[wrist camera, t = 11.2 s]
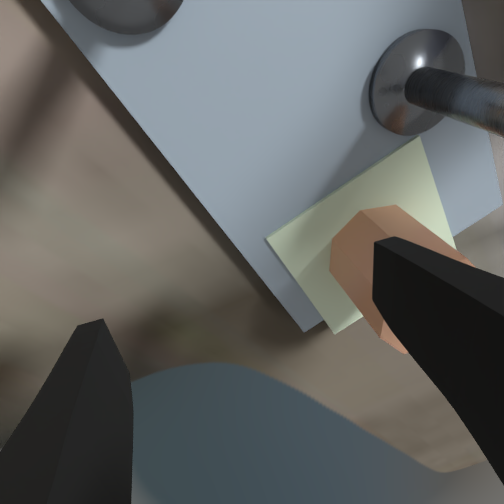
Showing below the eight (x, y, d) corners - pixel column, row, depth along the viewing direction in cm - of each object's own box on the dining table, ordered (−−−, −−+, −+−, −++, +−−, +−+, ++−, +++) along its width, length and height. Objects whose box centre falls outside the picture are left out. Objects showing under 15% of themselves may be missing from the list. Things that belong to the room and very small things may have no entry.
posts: (40, 4, 13) (-68, 11, 6) (58, -167, 11) (-69, -484, 4) (423, 143, 20) (602, 230, 13) (473, 50, 18) (719, 85, 11)
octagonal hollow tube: (420, 200, 22) (497, 253, 17) (404, 275, 24) (467, 338, 20) (334, 214, 21) (392, 273, 16) (327, 291, 23) (375, 360, 19)
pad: (265, 237, 21) (266, 239, 20) (417, 134, 20) (419, 135, 20) (333, 332, 26) (334, 334, 25) (456, 253, 25) (458, 255, 25)
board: (-313, -454, 9) (-350, -493, 8) (228, -1004, 7) (238, -1102, 7) (299, 324, 26) (304, 332, 25) (492, 199, 24) (502, 204, 24)
